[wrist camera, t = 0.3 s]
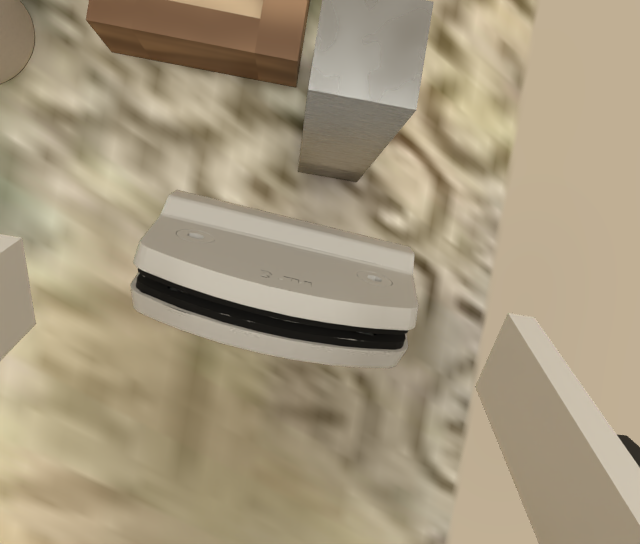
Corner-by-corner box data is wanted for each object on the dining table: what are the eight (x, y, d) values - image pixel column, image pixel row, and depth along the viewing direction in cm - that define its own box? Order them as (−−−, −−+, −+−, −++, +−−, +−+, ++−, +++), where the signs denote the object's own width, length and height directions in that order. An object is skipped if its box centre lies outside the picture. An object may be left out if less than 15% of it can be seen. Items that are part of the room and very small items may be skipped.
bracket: (356, 182, 31) (416, 110, 17) (297, 171, 30) (308, 89, 16) (375, 64, 31) (450, -106, 17) (316, 53, 30) (343, -131, 16)
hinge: (415, 248, 31) (456, 309, 21) (395, 309, 32) (424, 392, 23) (171, 188, 30) (99, 225, 20) (161, 255, 31) (91, 319, 22)
